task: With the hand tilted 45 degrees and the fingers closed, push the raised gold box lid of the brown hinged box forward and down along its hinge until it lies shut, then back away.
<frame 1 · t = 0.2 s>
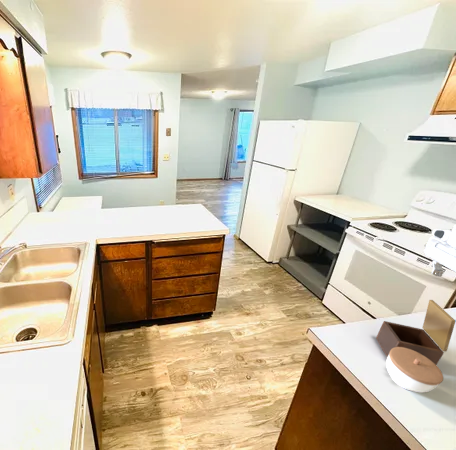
hand: (449, 283, 71), 27 cm above the worktop, tool pointing down, fingers open, 8 cm apart
trinket box: (403, 380, 71), on the worktop
gold box lid: (437, 324, 73), point 14 cm above the worktop, hinge at 80.0°
brown hinged box: (401, 354, 79), on the worktop
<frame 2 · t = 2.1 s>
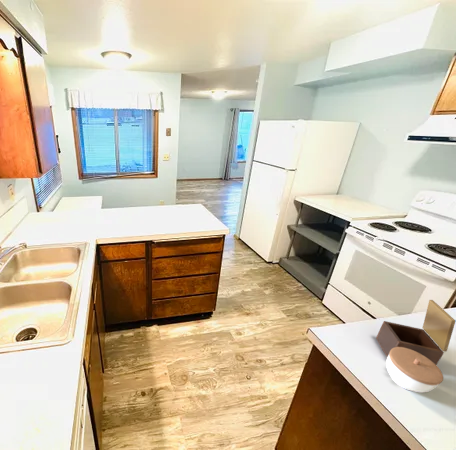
nothing on the worktop moved.
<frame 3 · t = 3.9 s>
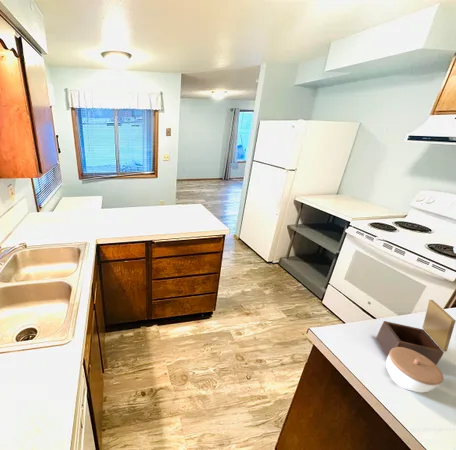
nothing on the worktop moved.
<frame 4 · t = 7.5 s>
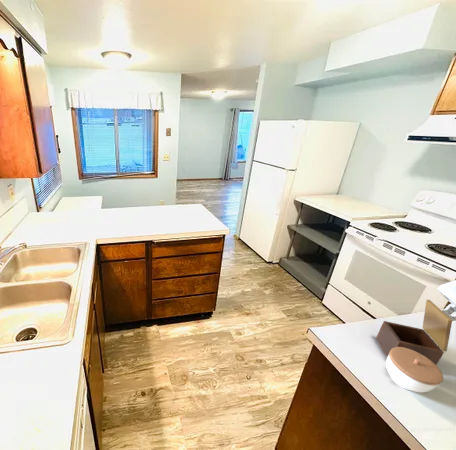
hand: (442, 317, 71), 17 cm above the worktop, tool tilted 45°, fingers closed
gold box lid: (436, 324, 73), point 14 cm above the worktop, hinge at 76.4°, touching gripper
everything else where it was.
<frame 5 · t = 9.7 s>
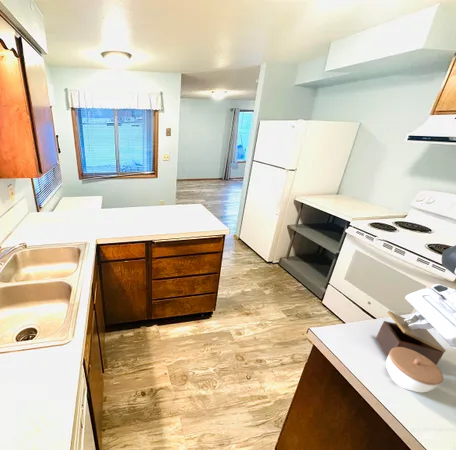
hand: (407, 324, 75), 12 cm above the worktop, tool tilted 45°, fingers closed
gold box lid: (414, 330, 76), point 11 cm above the worktop, hinge at 18.5°, touching gripper
everything else where it was.
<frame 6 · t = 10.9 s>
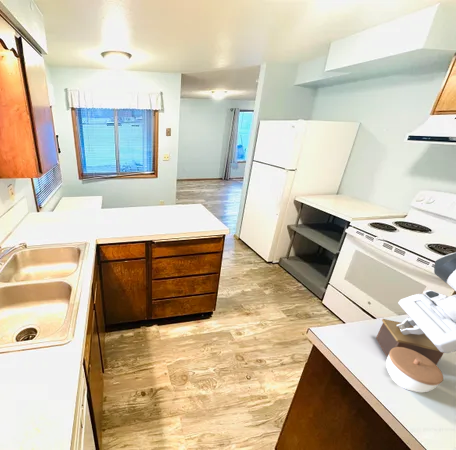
hand: (399, 330, 77), 9 cm above the worktop, tool tilted 45°, fingers closed, pressing on gold box lid
gold box lid: (411, 334, 76), point 9 cm above the worktop, hinge at -0.3°, touching brown hinged box, gripper
everything else where it was.
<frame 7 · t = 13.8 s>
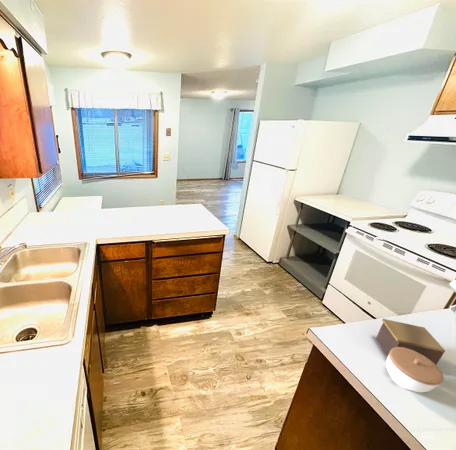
hand: (453, 312, 71), 19 cm above the worktop, tool tilted 45°, fingers closed
gold box lid: (411, 334, 76), point 9 cm above the worktop, hinge at -0.3°, touching brown hinged box
everything else where it was.
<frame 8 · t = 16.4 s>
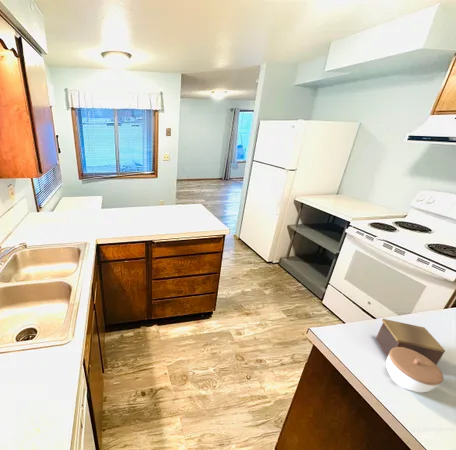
nothing on the worktop moved.
at the end: gold box lid at +0° (first picture: +80°); trinket box moved 0.0 cm from its start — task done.
